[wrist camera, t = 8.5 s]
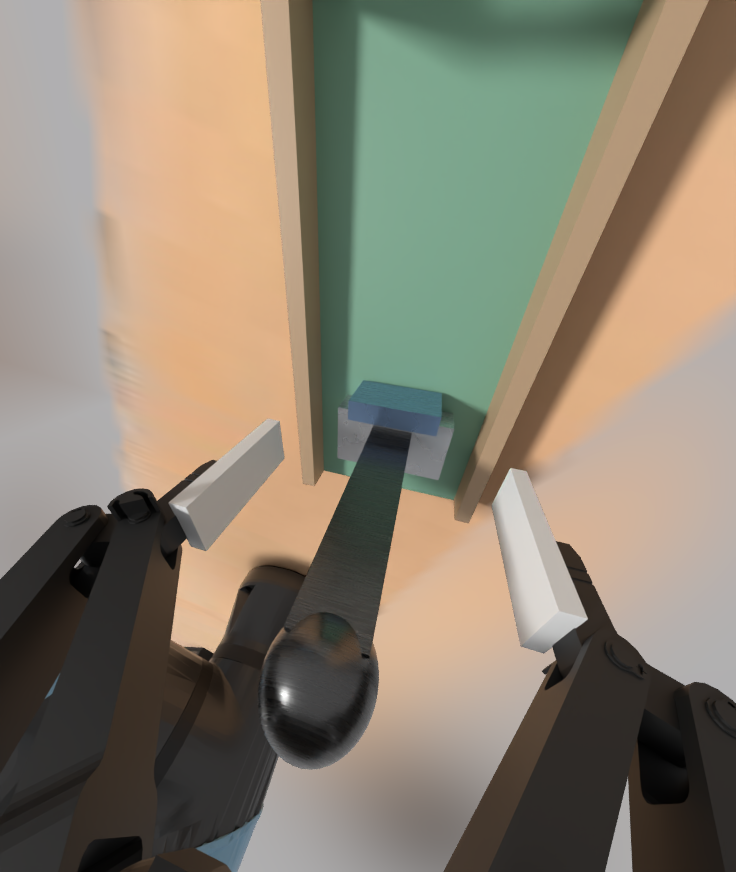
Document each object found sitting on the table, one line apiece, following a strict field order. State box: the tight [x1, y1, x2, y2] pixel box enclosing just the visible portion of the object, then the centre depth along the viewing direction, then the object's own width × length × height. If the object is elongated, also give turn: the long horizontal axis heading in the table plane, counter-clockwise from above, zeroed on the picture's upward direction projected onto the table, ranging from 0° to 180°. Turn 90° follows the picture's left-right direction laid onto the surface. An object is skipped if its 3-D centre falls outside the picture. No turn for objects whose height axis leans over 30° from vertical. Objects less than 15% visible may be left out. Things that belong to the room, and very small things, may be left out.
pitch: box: [260, 0, 709, 523], centre depth 13 cm, size 30×13×3 cm, turn 175°
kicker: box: [258, 380, 454, 769], centre depth 12 cm, size 5×7×15 cm
